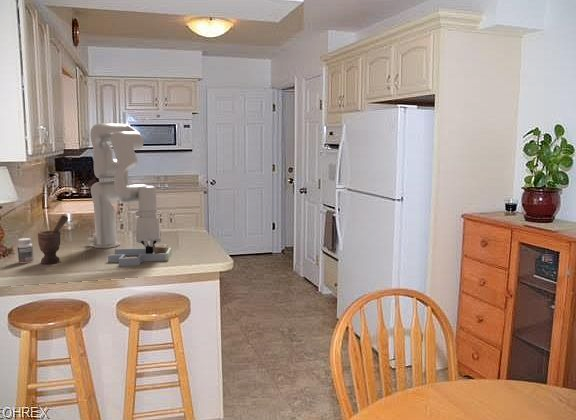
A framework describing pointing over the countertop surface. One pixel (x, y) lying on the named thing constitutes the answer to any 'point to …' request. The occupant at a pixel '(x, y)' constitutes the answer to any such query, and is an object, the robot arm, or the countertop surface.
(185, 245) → the countertop surface
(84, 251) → the countertop surface
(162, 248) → the block
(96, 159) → the robot arm
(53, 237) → the mortar and pestle
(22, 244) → the pill bottle
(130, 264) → the box
